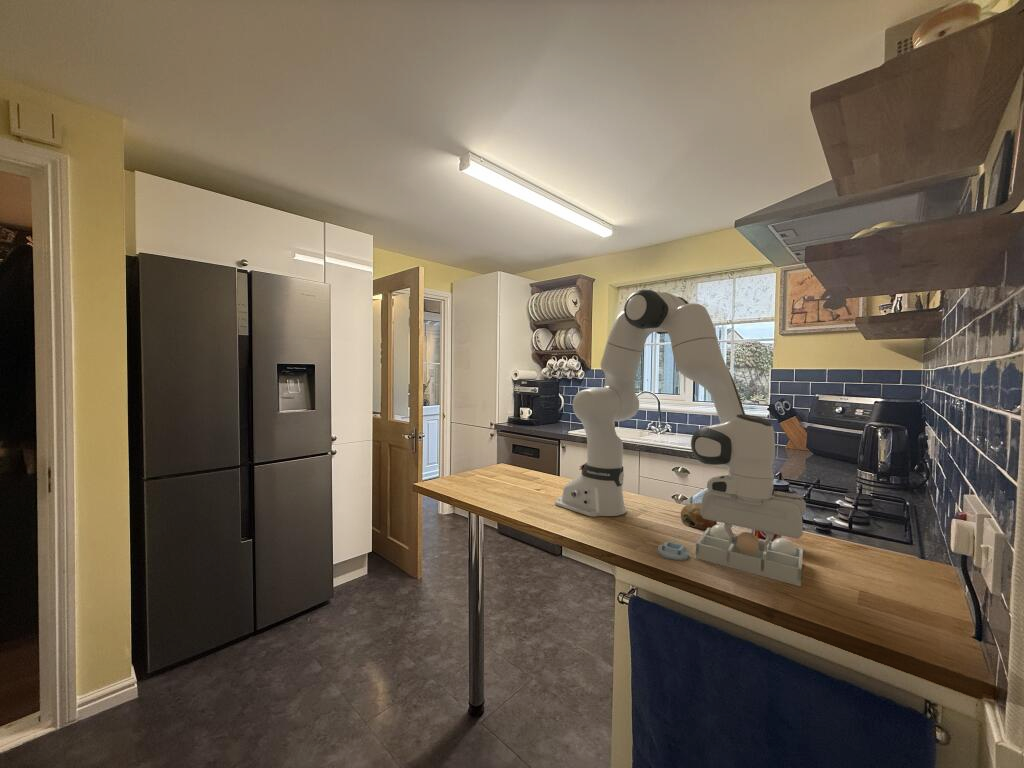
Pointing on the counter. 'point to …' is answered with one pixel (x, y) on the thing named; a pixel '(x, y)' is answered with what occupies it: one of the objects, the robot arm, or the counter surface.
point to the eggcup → (673, 551)
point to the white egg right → (783, 546)
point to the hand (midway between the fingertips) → (747, 546)
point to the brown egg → (747, 543)
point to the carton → (751, 559)
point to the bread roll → (695, 517)
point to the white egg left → (719, 532)
